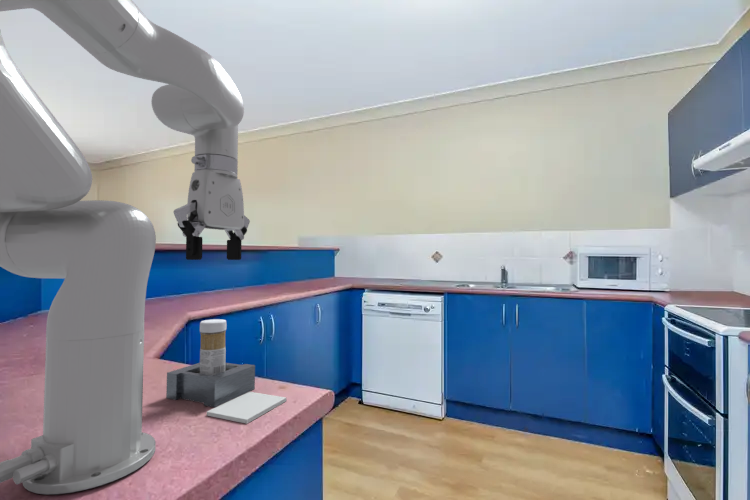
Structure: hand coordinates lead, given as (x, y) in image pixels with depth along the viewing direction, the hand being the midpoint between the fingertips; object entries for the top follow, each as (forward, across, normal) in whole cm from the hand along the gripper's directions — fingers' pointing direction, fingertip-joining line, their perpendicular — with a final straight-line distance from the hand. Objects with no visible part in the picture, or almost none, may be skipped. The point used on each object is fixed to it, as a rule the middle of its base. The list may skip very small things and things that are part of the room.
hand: (215, 259), depth 70 cm
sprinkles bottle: (+25, 0, 0) cm, 25 cm away
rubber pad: (+25, -3, -11) cm, 27 cm away
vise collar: (+25, 0, 0) cm, 25 cm away
